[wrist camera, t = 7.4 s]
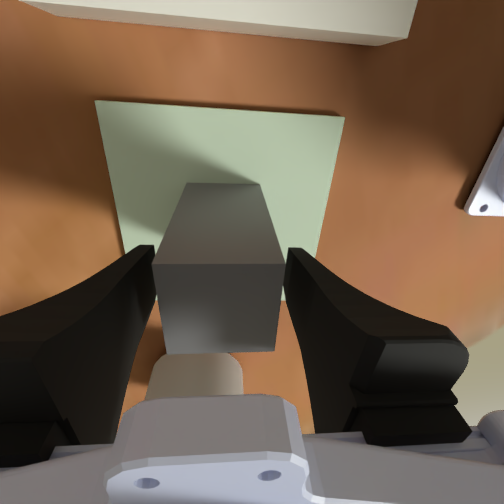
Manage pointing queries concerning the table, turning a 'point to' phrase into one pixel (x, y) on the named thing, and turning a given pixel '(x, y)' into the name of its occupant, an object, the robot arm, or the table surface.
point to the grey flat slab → (256, 16)
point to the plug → (219, 272)
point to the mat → (218, 164)
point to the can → (195, 376)
